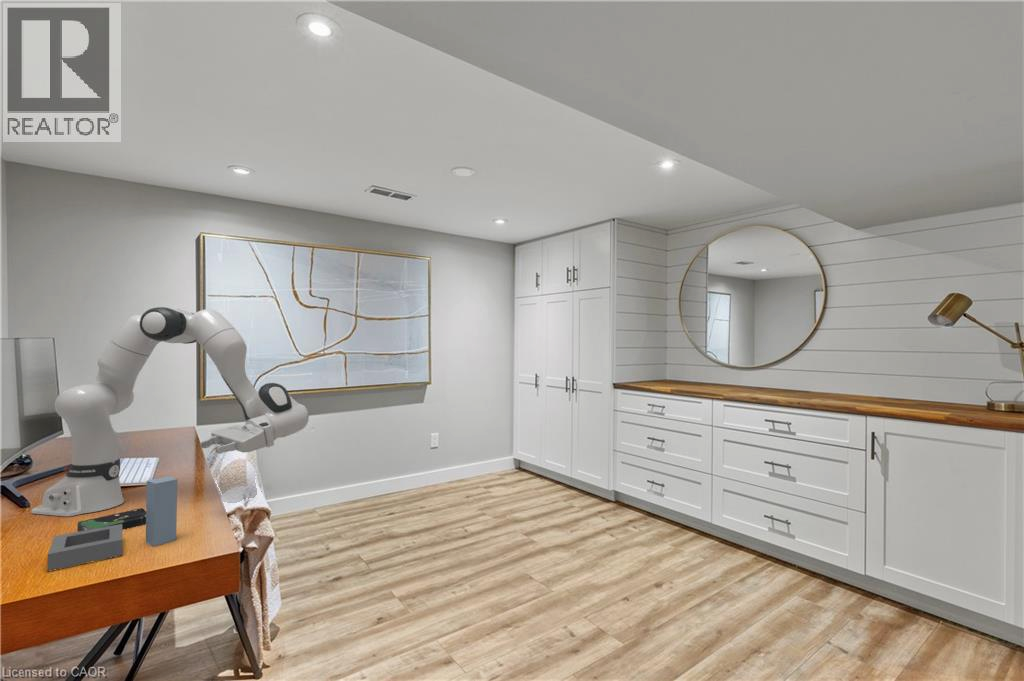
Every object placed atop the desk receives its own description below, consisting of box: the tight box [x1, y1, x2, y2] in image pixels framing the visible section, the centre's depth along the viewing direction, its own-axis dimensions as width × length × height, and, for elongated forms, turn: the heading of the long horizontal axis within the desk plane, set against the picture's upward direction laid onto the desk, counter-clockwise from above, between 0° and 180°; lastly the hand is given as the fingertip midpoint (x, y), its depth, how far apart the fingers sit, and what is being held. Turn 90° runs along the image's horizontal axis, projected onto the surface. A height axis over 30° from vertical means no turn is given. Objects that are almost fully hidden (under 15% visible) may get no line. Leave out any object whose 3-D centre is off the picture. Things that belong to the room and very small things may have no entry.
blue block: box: [145, 475, 178, 547], centre depth 123 cm, size 5×5×16 cm
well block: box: [46, 524, 124, 572], centre depth 115 cm, size 13×13×4 cm
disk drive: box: [77, 507, 146, 532], centre depth 133 cm, size 10×3×15 cm
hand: (209, 448), depth 134 cm, fingers open, 8 cm apart
